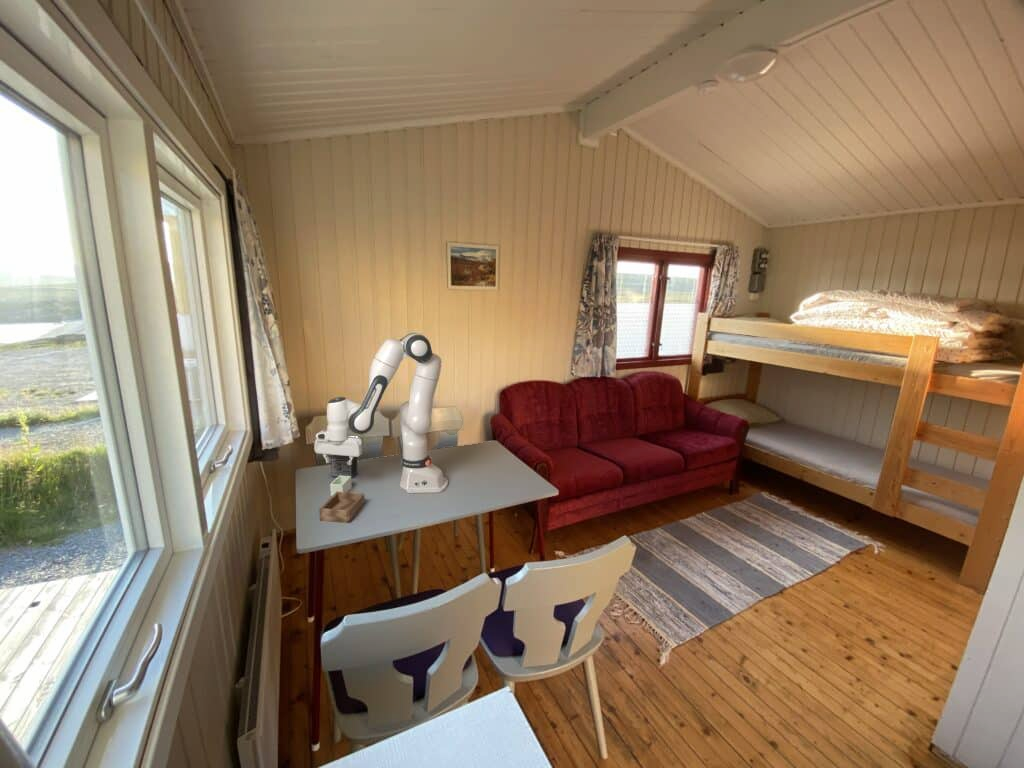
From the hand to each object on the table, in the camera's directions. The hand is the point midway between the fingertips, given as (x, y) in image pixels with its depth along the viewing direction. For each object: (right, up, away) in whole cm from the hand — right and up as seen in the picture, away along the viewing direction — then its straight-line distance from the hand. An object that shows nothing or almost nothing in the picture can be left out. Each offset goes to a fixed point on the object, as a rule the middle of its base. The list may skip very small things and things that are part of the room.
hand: (339, 463), depth 189 cm
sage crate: (0, -14, +3) cm, 14 cm away
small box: (-5, -10, +20) cm, 23 cm away
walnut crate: (+7, -18, -12) cm, 23 cm away
